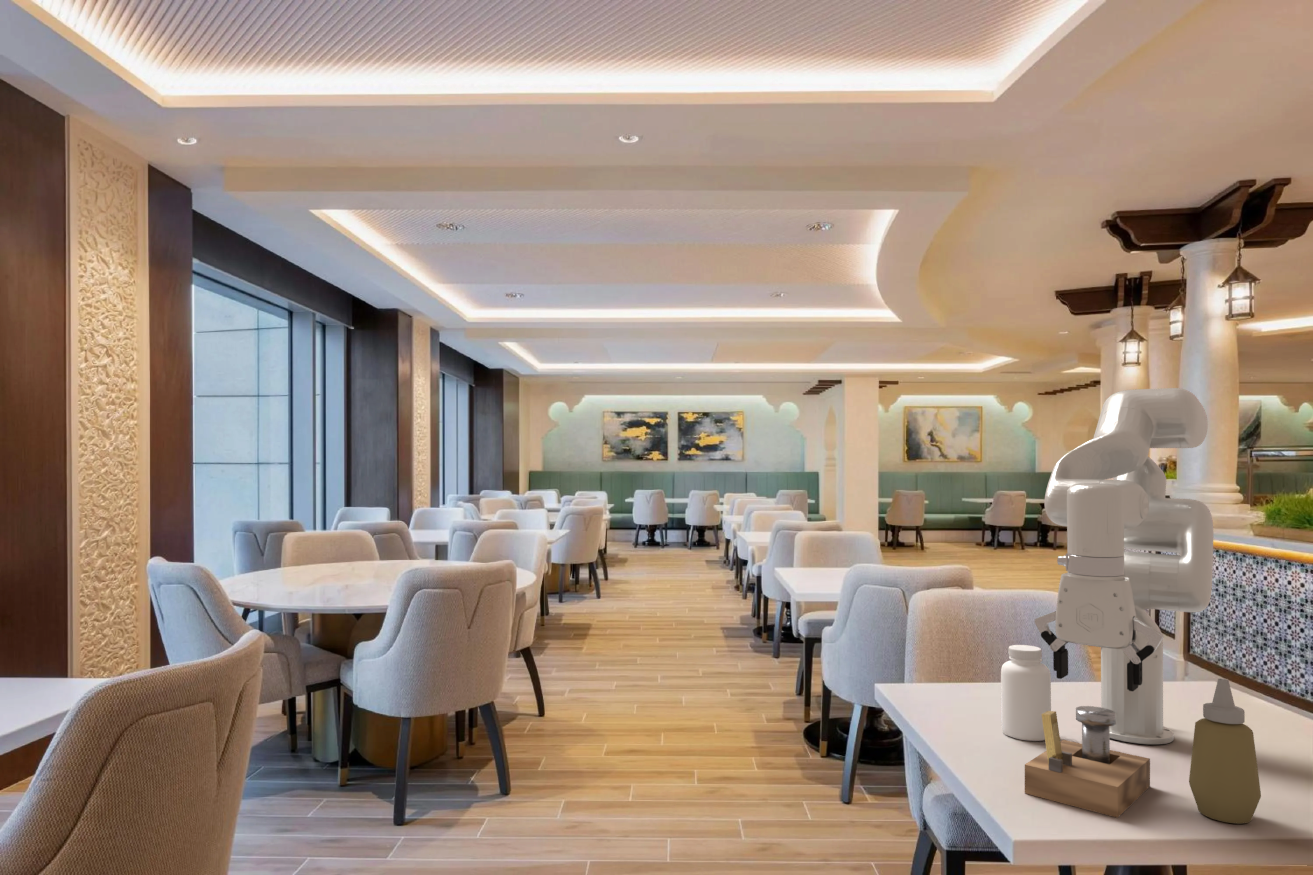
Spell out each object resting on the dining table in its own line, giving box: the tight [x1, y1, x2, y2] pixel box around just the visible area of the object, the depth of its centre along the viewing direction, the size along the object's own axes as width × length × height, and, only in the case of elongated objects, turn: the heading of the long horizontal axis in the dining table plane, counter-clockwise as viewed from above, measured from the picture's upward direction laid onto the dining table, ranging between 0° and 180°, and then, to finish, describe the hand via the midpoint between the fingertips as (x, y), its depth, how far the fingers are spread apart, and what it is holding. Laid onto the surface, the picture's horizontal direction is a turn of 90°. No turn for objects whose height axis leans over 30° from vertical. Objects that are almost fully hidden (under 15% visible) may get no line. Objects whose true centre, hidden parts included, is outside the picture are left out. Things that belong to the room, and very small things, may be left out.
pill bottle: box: [1000, 644, 1052, 742], centre depth 149 cm, size 8×8×15 cm
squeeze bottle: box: [1188, 678, 1262, 825], centre depth 115 cm, size 8×8×18 cm
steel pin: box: [1075, 705, 1116, 764], centre depth 126 cm, size 5×5×10 cm
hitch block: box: [1024, 739, 1151, 819], centre depth 123 cm, size 16×12×6 cm
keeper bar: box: [1041, 710, 1063, 765], centre depth 122 cm, size 2×7×1 cm
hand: (1096, 682), depth 127 cm, fingers open, 9 cm apart
